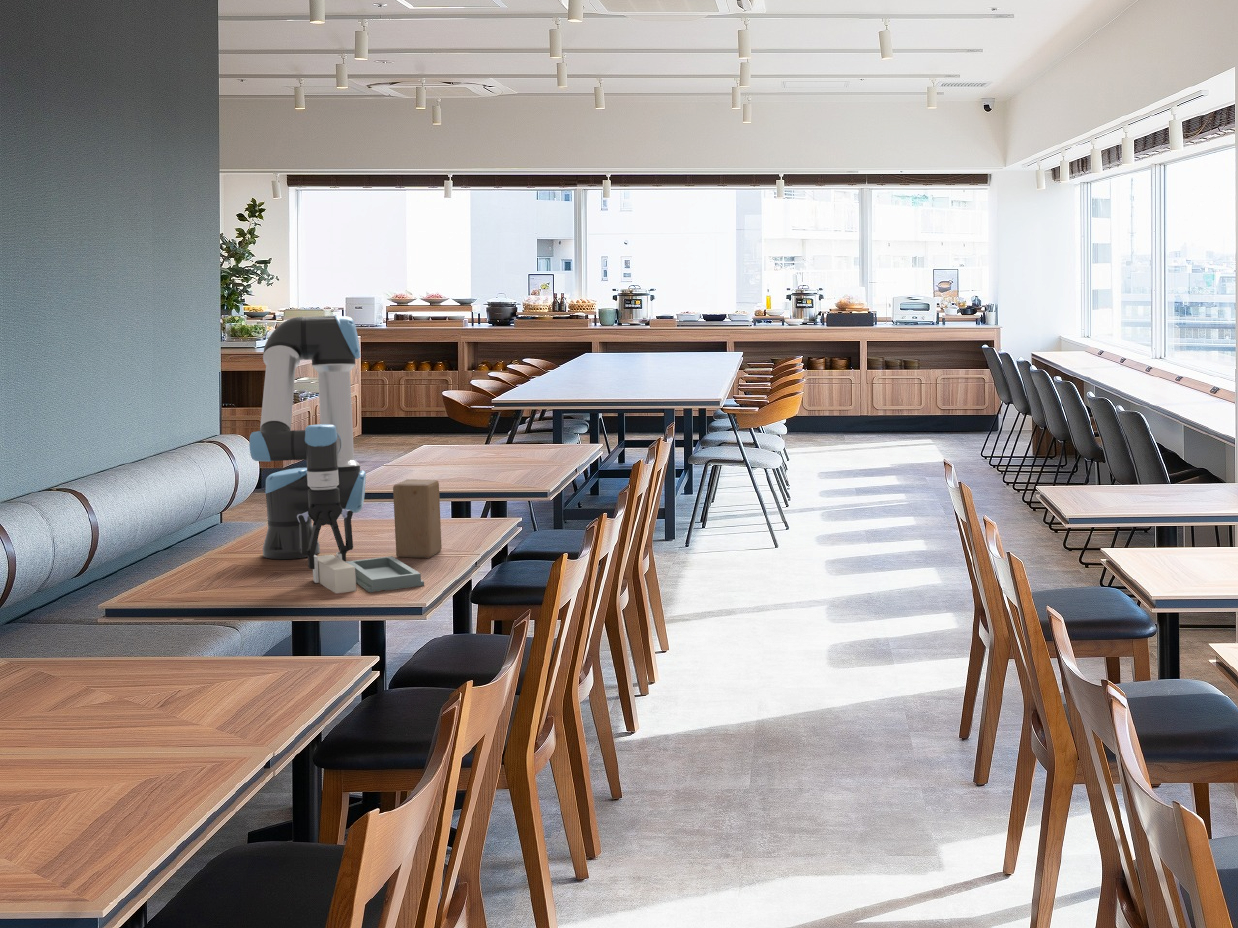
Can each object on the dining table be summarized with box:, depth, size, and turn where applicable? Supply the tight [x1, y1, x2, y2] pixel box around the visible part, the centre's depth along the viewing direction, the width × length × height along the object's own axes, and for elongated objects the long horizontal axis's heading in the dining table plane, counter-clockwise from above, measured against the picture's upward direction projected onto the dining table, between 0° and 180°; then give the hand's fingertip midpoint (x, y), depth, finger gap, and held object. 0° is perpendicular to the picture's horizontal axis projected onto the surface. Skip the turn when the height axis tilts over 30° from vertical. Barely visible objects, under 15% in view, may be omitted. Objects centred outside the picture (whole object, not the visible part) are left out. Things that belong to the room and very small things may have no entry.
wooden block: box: [392, 478, 442, 559], centre depth 336 cm, size 10×10×20 cm
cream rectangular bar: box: [316, 553, 357, 594], centre depth 303 cm, size 18×5×6 cm, turn 30°
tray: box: [346, 555, 425, 593], centre depth 308 cm, size 24×14×3 cm, turn 27°
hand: (328, 580), depth 308 cm, fingers open, 5 cm apart
